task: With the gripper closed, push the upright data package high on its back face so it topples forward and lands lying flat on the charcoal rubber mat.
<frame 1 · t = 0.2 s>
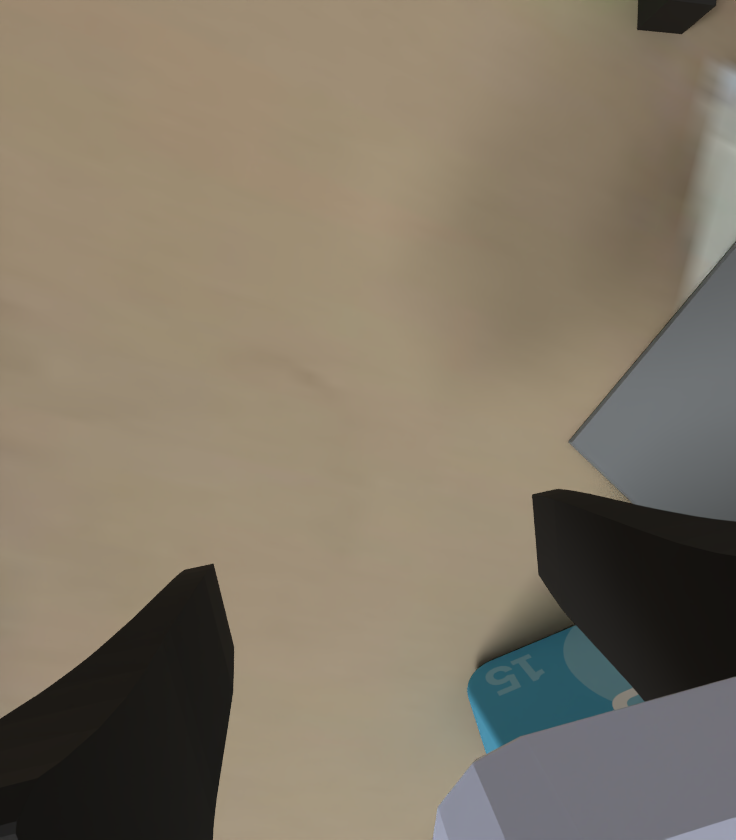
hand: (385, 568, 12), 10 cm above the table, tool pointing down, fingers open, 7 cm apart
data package: (584, 663, 25), on the table
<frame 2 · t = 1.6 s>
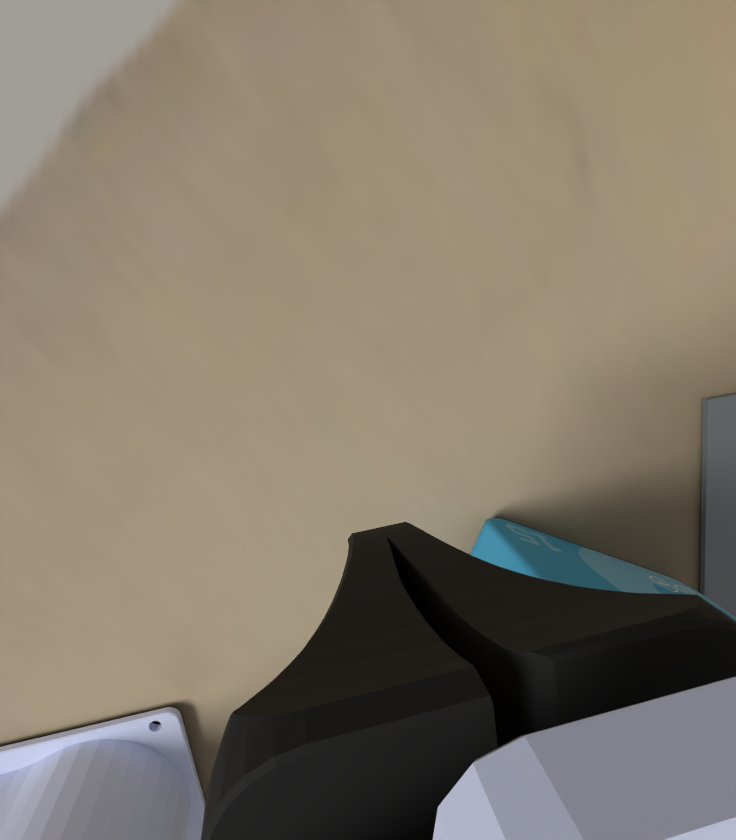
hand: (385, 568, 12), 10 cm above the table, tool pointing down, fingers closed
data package: (563, 586, 25), on the table
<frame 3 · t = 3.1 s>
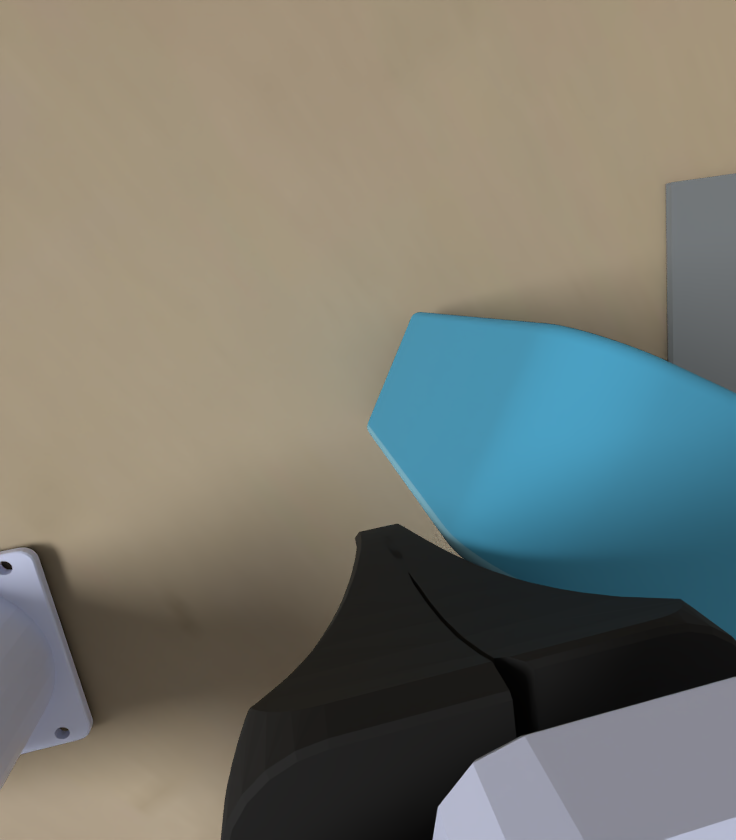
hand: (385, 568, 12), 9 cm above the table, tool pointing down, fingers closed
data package: (515, 419, 21), on the table, touching gripper
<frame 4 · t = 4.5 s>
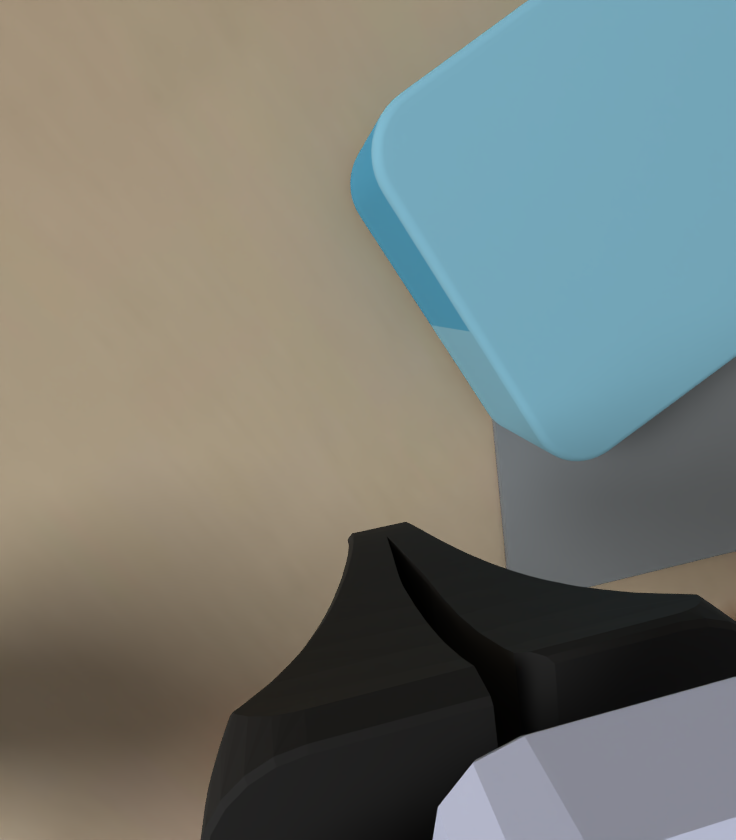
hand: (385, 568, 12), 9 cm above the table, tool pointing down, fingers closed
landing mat: (696, 384, 22), on the table
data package: (440, 327, 17), point 3 cm above the table, touching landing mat
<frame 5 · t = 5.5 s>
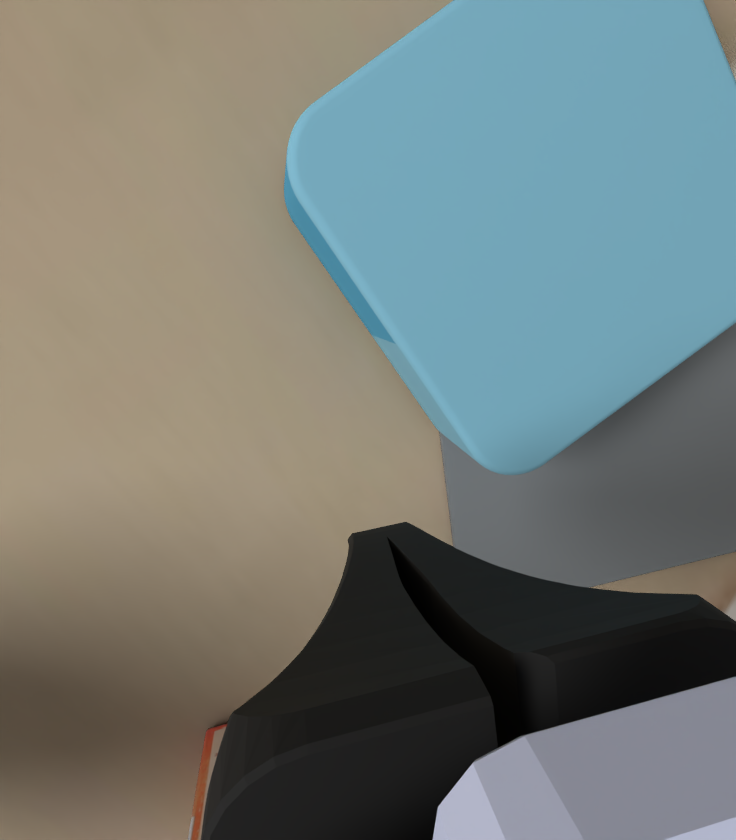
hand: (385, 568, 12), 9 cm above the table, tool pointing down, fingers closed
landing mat: (649, 393, 22), on the table
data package: (374, 338, 17), point 3 cm above the table, touching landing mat
cracker box: (308, 826, 24), on the table
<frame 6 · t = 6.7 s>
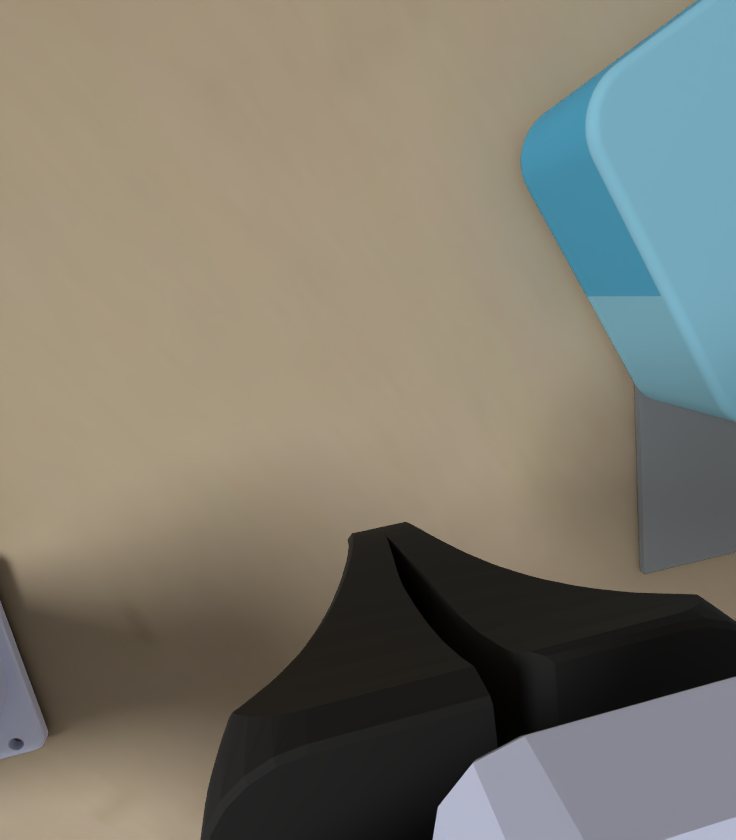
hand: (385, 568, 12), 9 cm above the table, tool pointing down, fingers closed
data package: (613, 295, 18), point 3 cm above the table, touching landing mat
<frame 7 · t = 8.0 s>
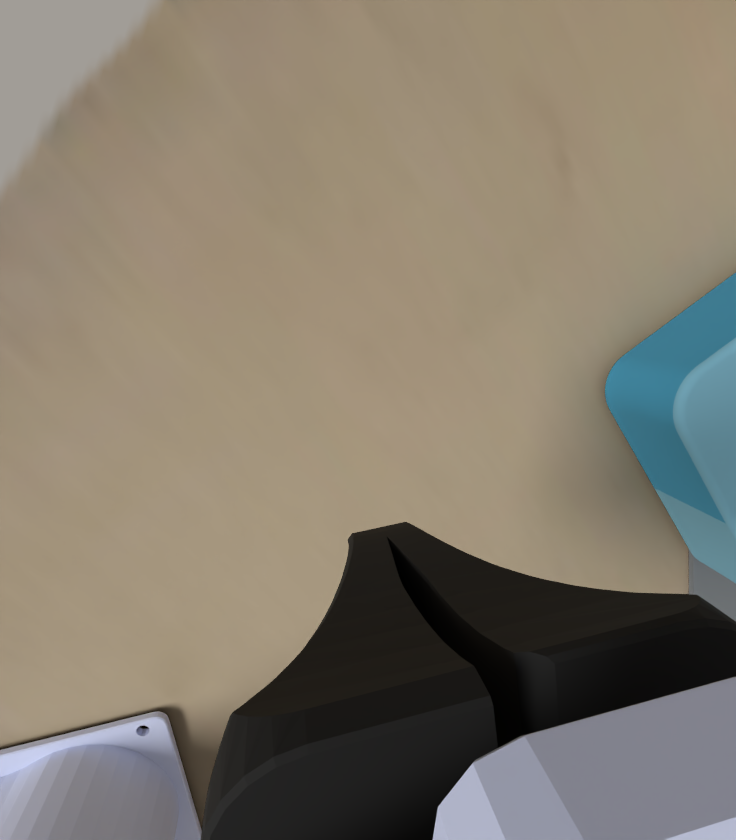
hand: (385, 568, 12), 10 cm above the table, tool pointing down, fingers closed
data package: (681, 504, 22), point 3 cm above the table, touching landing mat
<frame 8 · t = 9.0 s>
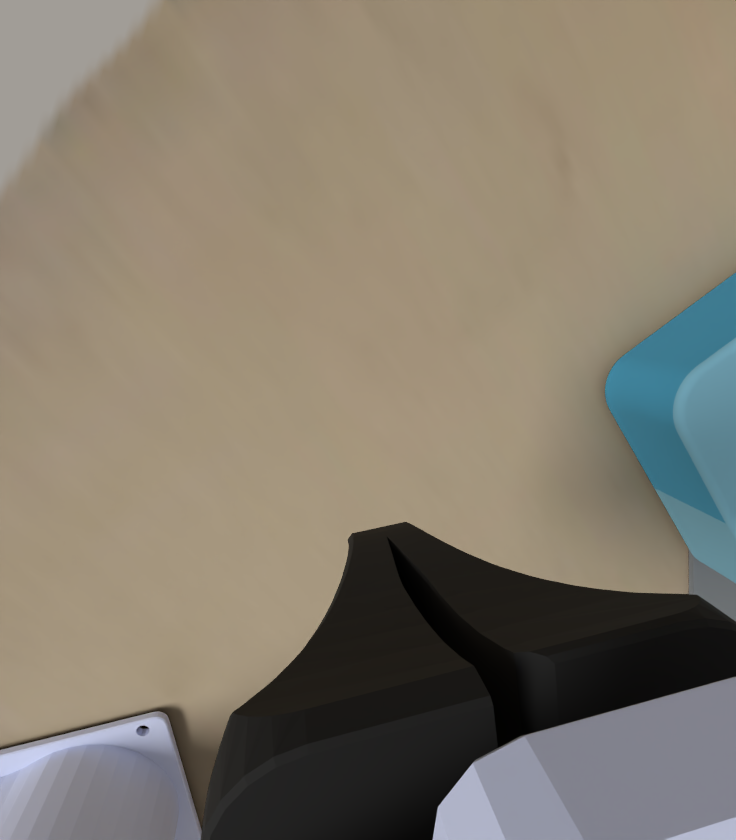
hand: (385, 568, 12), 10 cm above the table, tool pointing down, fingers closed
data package: (681, 504, 22), point 3 cm above the table, touching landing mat
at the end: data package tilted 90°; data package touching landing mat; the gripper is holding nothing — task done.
